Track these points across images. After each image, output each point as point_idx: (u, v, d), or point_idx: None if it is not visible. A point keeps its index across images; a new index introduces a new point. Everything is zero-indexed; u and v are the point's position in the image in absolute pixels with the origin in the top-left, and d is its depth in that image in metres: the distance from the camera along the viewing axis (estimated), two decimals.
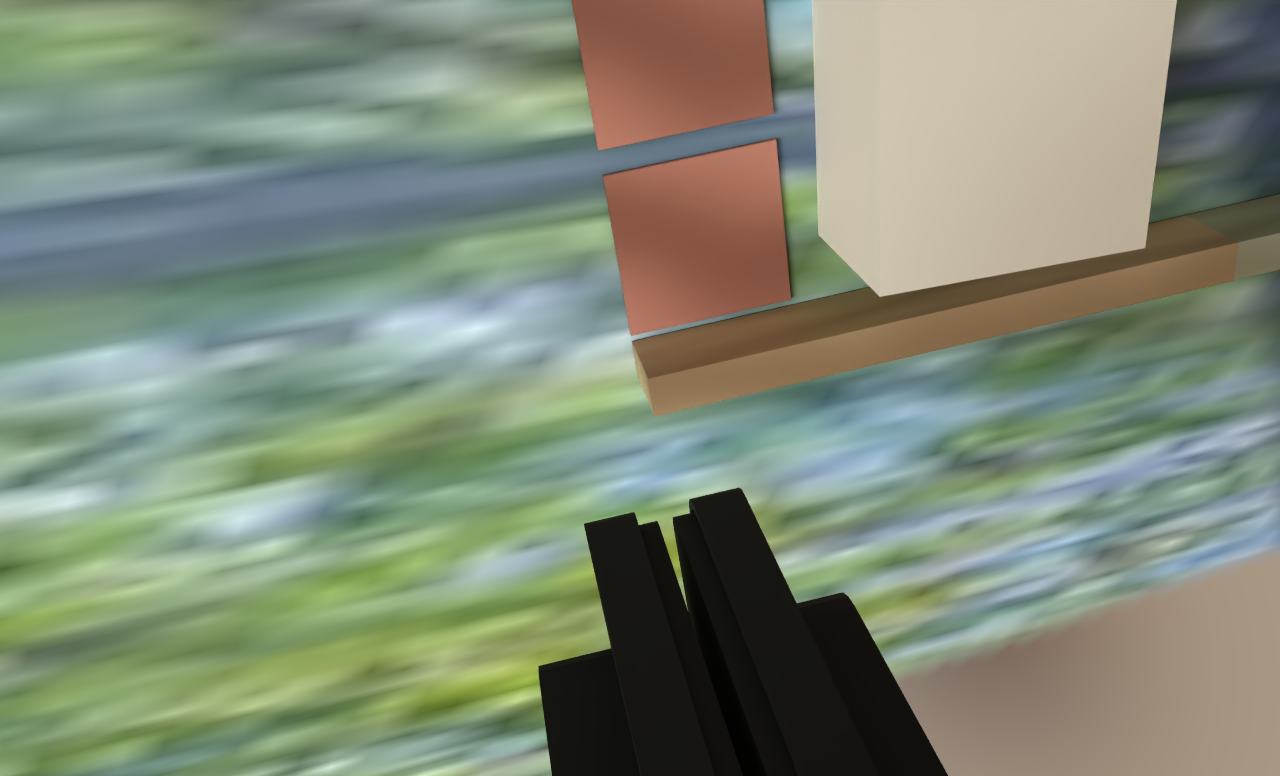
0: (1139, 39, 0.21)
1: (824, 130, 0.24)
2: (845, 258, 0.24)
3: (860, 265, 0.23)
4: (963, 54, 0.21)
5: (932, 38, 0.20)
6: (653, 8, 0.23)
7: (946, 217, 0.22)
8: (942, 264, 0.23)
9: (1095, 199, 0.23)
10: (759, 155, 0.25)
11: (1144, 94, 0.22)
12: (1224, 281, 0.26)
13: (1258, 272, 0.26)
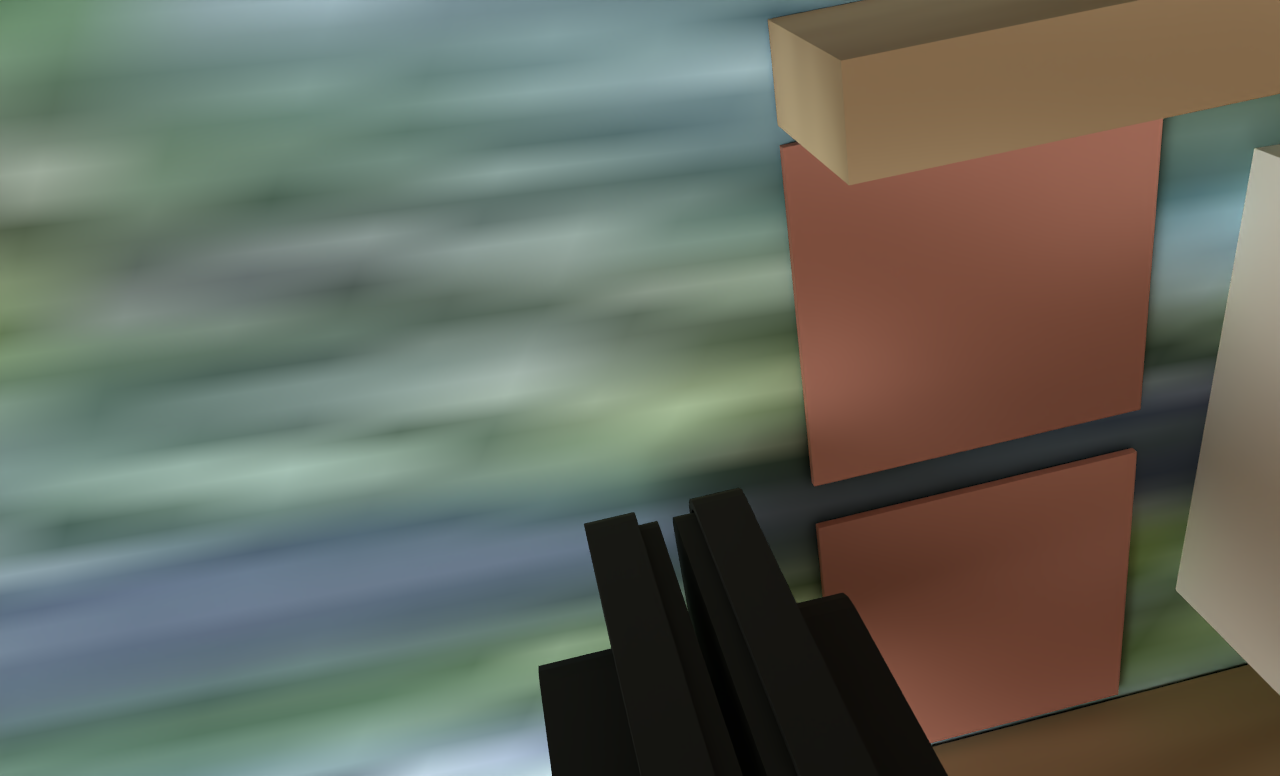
0: None
1: (1239, 440, 0.13)
2: (1269, 677, 0.13)
3: None
4: None
5: None
6: (943, 235, 0.11)
7: None
8: None
9: None
10: (1104, 477, 0.13)
11: None
12: None
13: None
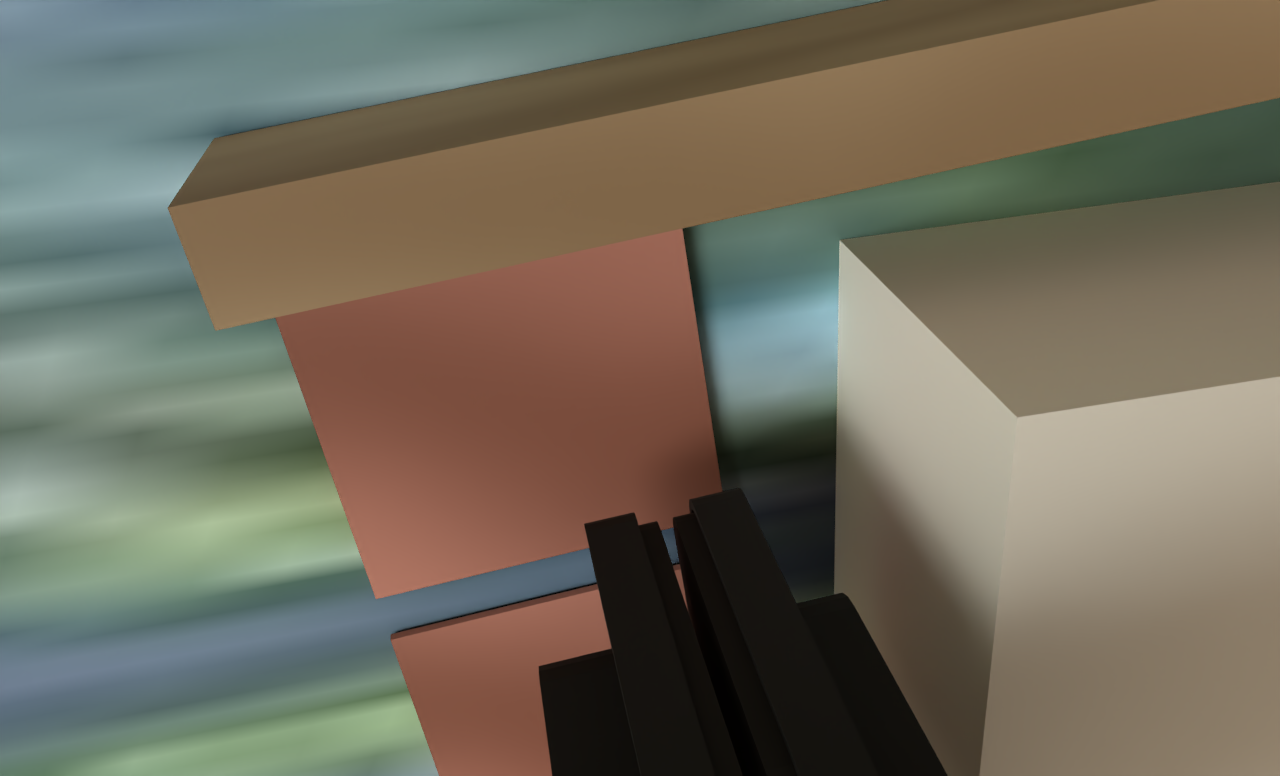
0: None
1: (853, 537, 0.12)
2: None
3: None
4: (1198, 527, 0.09)
5: (1132, 498, 0.08)
6: (467, 348, 0.11)
7: None
8: None
9: None
10: None
11: None
12: None
13: None
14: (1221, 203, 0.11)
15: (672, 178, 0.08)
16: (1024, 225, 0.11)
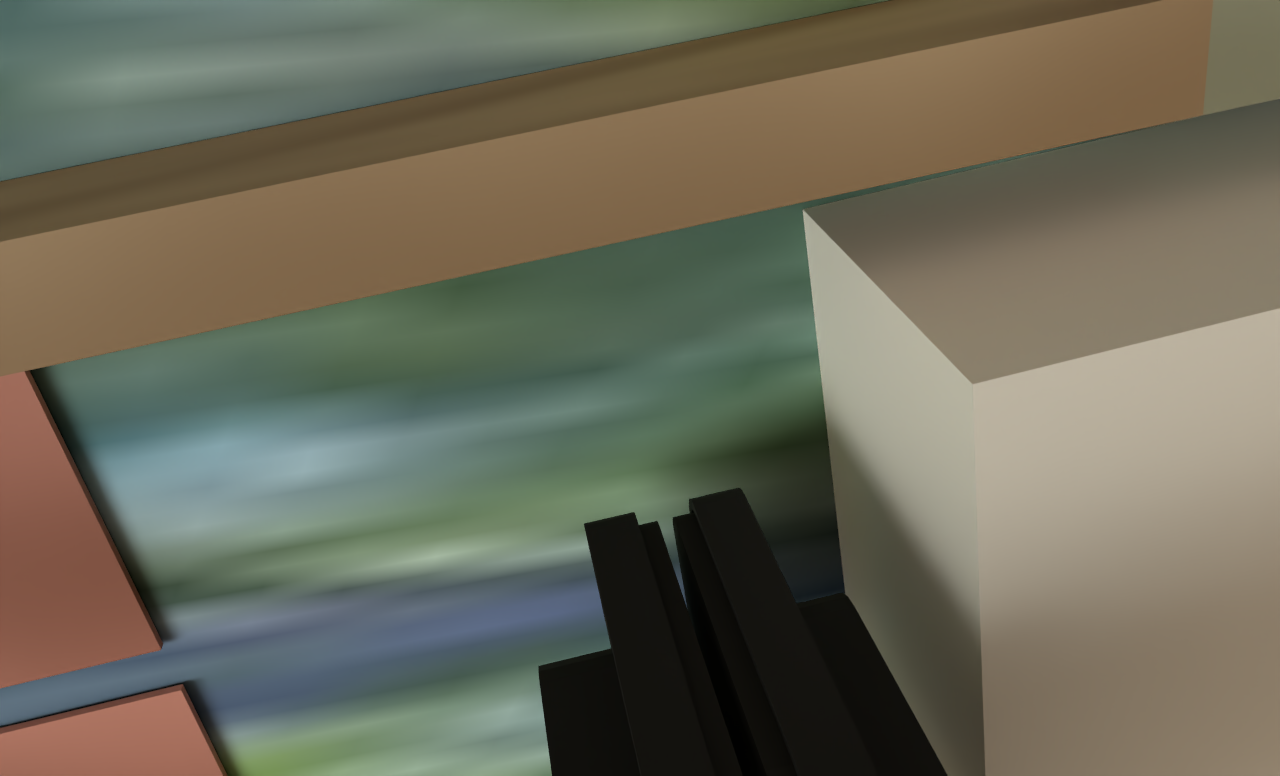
0: None
1: (852, 511, 0.12)
2: None
3: None
4: (1183, 478, 0.08)
5: (1108, 455, 0.08)
6: None
7: None
8: None
9: None
10: (153, 716, 0.12)
11: None
12: None
13: None
14: (1202, 133, 0.11)
15: None
16: (994, 177, 0.11)
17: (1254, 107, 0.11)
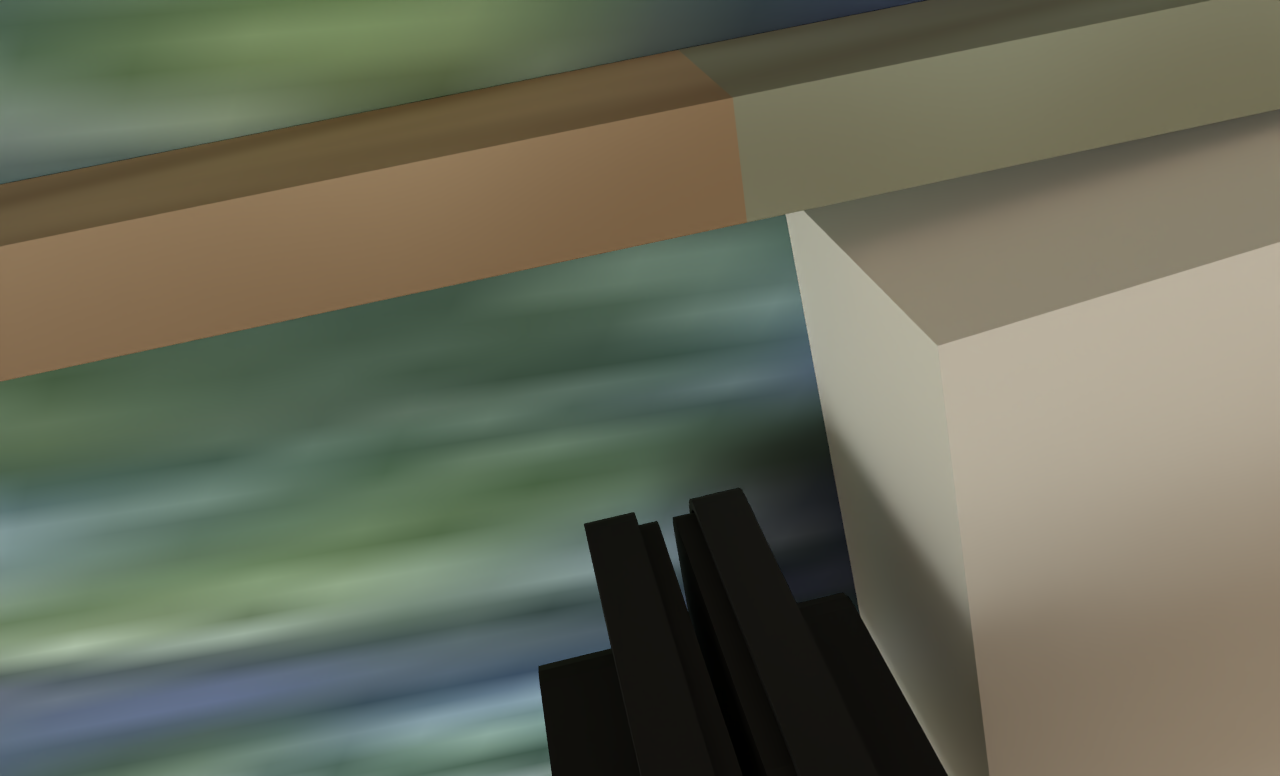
0: None
1: (847, 486, 0.12)
2: None
3: None
4: (1163, 430, 0.08)
5: (1083, 411, 0.08)
6: None
7: (1141, 736, 0.10)
8: None
9: None
10: None
11: None
12: None
13: None
14: None
15: None
16: None
17: None
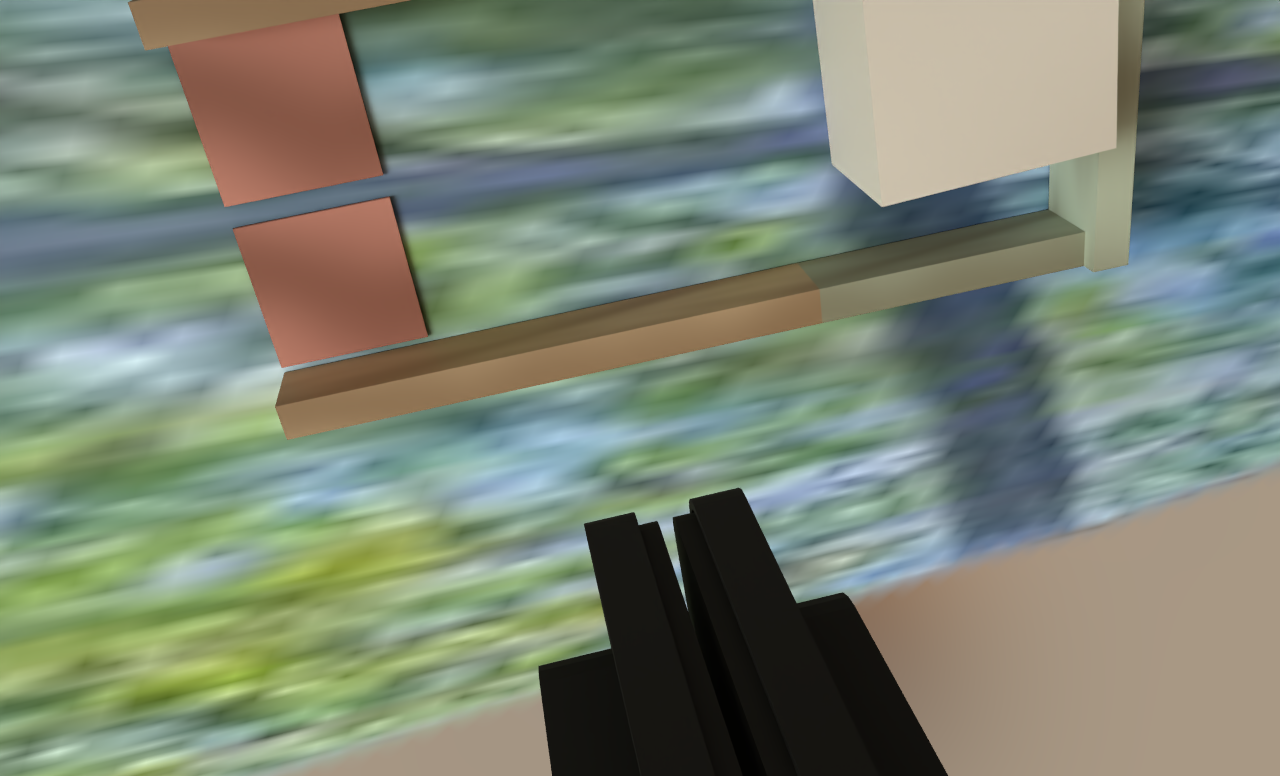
0: None
1: (827, 70, 0.28)
2: (853, 179, 0.28)
3: (865, 183, 0.27)
4: None
5: None
6: (257, 86, 0.26)
7: (934, 133, 0.26)
8: (934, 175, 0.26)
9: (1065, 107, 0.26)
10: (376, 210, 0.28)
11: (1099, 11, 0.25)
12: (813, 323, 0.29)
13: (844, 315, 0.29)
14: None
15: None
16: None
17: None
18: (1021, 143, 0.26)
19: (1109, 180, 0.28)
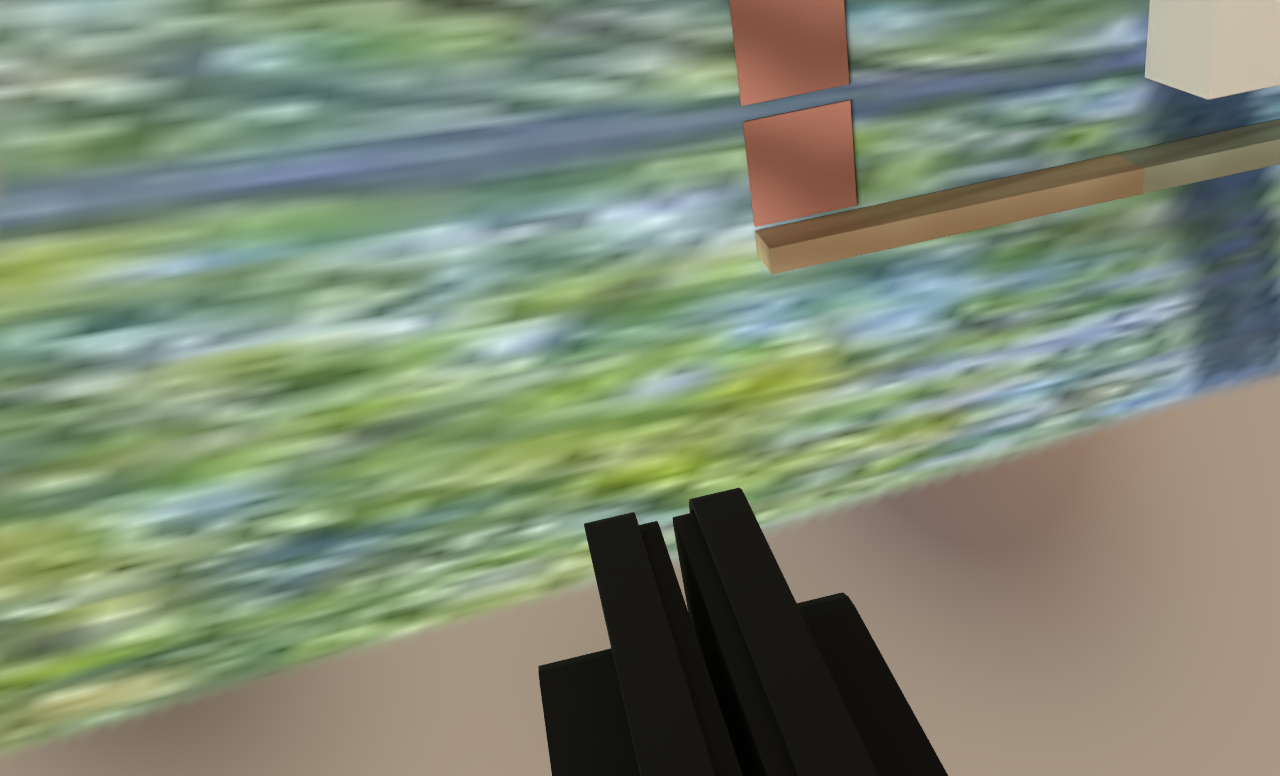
0: None
1: (1159, 6, 0.39)
2: (1173, 85, 0.40)
3: (1189, 85, 0.39)
4: None
5: None
6: (778, 19, 0.38)
7: (1251, 48, 0.37)
8: (1245, 78, 0.38)
9: None
10: (840, 110, 0.40)
11: None
12: (1136, 194, 0.41)
13: (1158, 188, 0.41)
14: None
15: None
16: None
17: None
18: None
19: None
